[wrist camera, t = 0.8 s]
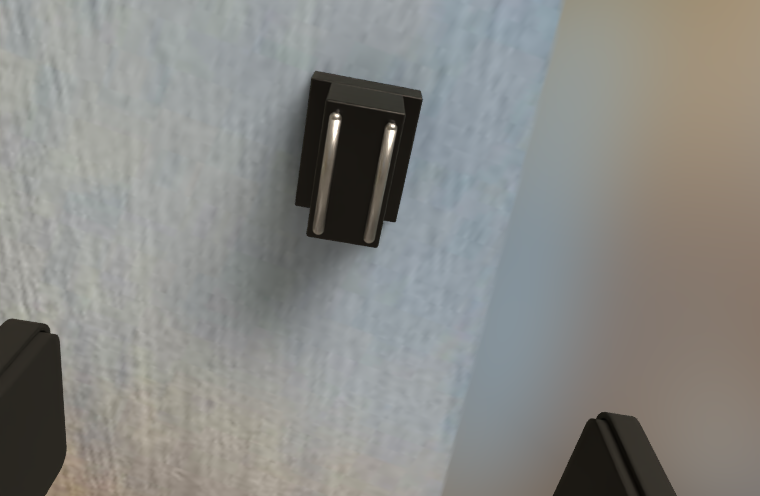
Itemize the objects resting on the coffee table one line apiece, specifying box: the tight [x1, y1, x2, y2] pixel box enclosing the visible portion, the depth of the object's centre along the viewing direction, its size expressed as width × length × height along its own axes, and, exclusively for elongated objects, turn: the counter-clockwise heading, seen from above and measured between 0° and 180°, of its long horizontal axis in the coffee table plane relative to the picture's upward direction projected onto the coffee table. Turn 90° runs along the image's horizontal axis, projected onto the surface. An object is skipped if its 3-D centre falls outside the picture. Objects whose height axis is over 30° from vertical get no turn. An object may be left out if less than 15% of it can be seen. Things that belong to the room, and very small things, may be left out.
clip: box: [295, 71, 423, 248], centre depth 22 cm, size 5×4×4 cm
